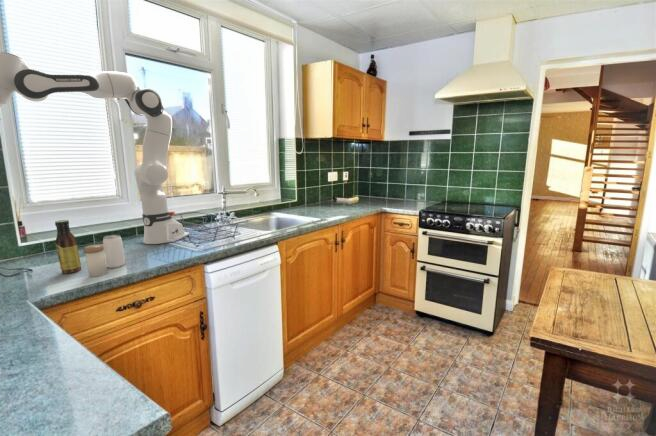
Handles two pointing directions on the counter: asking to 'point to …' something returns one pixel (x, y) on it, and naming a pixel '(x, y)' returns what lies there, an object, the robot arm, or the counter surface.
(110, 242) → the can
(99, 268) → the spice jar
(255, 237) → the counter surface
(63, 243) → the sauce bottle
